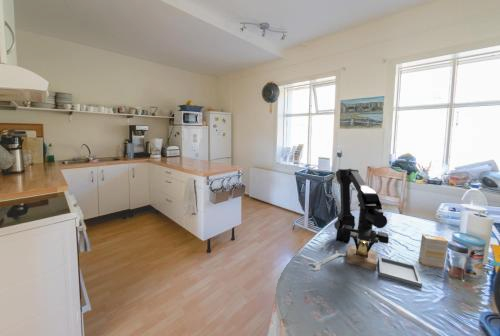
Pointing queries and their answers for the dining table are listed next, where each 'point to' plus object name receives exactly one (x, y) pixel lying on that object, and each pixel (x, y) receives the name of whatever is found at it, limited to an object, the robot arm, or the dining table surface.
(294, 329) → the dining table surface
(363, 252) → the brass pin
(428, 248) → the supplement box
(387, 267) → the tray
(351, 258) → the pin block
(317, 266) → the wrench
